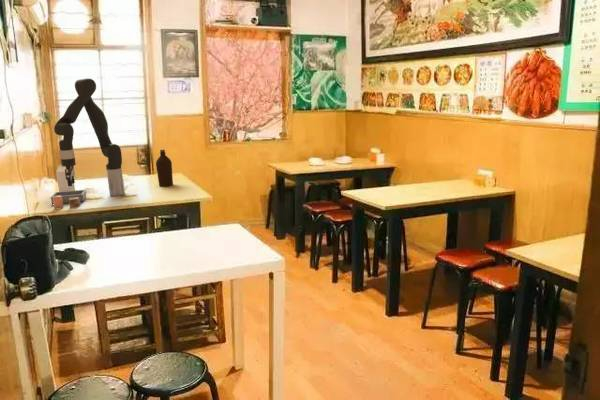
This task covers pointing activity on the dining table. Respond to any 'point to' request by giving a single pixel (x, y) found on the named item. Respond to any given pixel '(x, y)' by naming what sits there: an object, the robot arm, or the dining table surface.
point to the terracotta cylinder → (58, 201)
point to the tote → (70, 195)
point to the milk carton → (63, 180)
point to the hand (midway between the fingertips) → (71, 184)
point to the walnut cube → (74, 202)
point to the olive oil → (164, 170)
